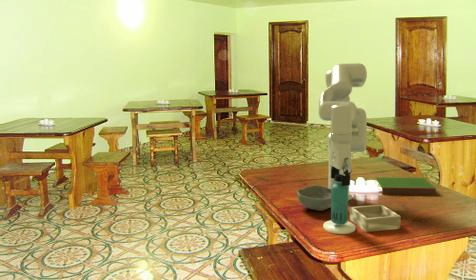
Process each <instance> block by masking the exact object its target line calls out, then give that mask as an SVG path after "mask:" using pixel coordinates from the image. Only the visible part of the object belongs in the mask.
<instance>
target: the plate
mask: <svg viewBox="0 0 476 280" xmlns="http://www.w3.org/2000/svg"><path fill="white" fill-rule="evenodd" d="M322 227H323V229H324V230H325V231H326V232H328V233H331V234H335V235H349V234H352V233H354V232H355V231H356V224H355V223H354V222H353V223H352V221H347V223H346V224H335V223H333V222H332V221H331V219H330V220H327V221H325V222H324V223H323V226H322Z"/></svg>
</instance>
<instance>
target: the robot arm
mask: <svg viewBox="0 0 476 280" xmlns="http://www.w3.org/2000/svg"><path fill="white" fill-rule="evenodd" d="M367 74H368V73H367V68H366V66H365V65H364V64H363V63H361V62H359V63H358V62H356V63H338V64H336V65H334V66H333V67H332V69H329V70H328V71H326V72H325V78H324V79H325V85H326V89H325V90H324V91H322V93H321V94H320V96H319V101H318V116H319V118H320V120H322V121H325V122H328V121H329V122H330V133H329V134H328V135H327V138H326V141H327V149H328V150H327V151H328V183H327V184H328V186H327V188H330V189H332V185H333V184H334V183H338V182H337V181H335V175H338V174H342V177H341V185H342V186H348V202H349V201H351V200H352V199H353V195H352V193H350V186H351V175H352V170H353V165H352V153H364V152H365V151H366V149H367V145H368V144H367V141H368V140H367V139H368V138H367V135H368V134H367V133H368V131H367V129H368V128H367V127H368V125H367V123H368V121H367V120H368V119H367V112H366V111H365V109H364V108H361V107H357V105H356V104H355V103H354V102H353V101H351V100H350V99H351V98H350V95H351V93H352V91H353V88H362V87H364V86H365V83H366V81H367V76H368V75H367ZM353 129H354V130H355V131H353Z"/></svg>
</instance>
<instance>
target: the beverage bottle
mask: <svg viewBox="0 0 476 280" xmlns="http://www.w3.org/2000/svg"><path fill="white" fill-rule="evenodd" d="M341 177H342V174H338V175H335V181H337V182H338V183H334V184H333V185H332V195H331V198H332V199H331V200H332V201H331V207H330V220H331V221H332V222H333V223H335V224H346V223H347V221H348V220H349V219H348V215H349V213H348V212H349V211H348V210H349V207H348V205H349V201H348V186H342V185H341ZM348 222H349V221H348Z"/></svg>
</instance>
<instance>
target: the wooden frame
mask: <svg viewBox="0 0 476 280" xmlns="http://www.w3.org/2000/svg"><path fill="white" fill-rule="evenodd" d="M401 217H402V216H401V215H400V214H398V213H396V212H395V211H393V210H391V209H390V208H388V207H386V206H385V205H383V204H373V205H372V204H371V205H370V204H369V205H360V206H350V207H349V220H350V222H353V224H354V225H355V226H357V227H359V228H360V229H362V230H363V231H364V232H365V233H370V232H371V233H372V232H380V231H381V232H382V231H389V230H399V229H401Z"/></svg>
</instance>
